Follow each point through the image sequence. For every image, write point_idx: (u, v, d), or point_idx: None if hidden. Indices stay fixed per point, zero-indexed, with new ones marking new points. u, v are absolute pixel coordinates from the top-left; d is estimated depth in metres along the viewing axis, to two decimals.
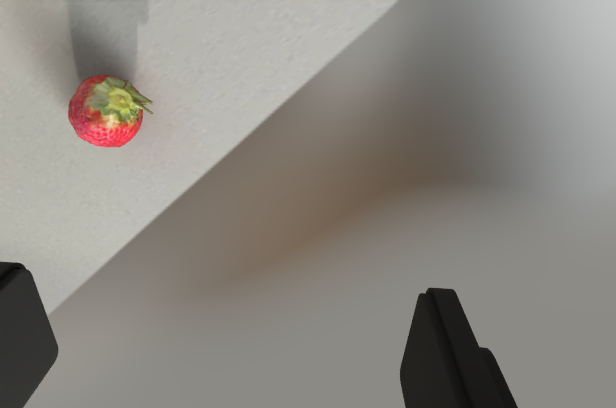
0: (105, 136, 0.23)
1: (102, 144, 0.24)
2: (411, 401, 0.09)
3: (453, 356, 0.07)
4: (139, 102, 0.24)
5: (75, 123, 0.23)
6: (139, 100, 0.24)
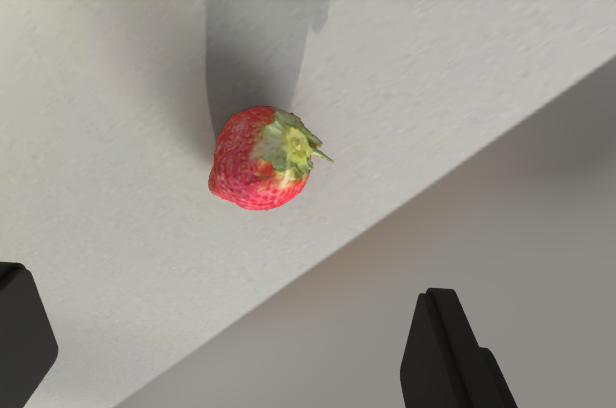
0: (274, 199, 0.16)
1: (260, 208, 0.16)
2: (411, 401, 0.09)
3: (453, 356, 0.07)
4: (314, 146, 0.16)
5: (230, 183, 0.15)
6: (314, 143, 0.16)
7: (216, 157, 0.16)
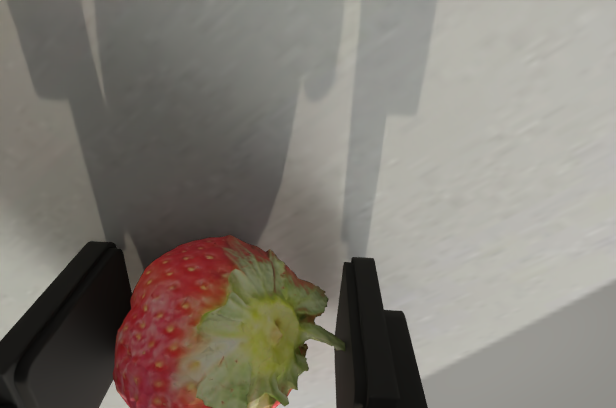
0: None
1: None
2: (337, 361, 0.10)
3: (357, 312, 0.08)
4: (311, 320, 0.09)
5: None
6: (310, 313, 0.09)
7: (115, 354, 0.08)
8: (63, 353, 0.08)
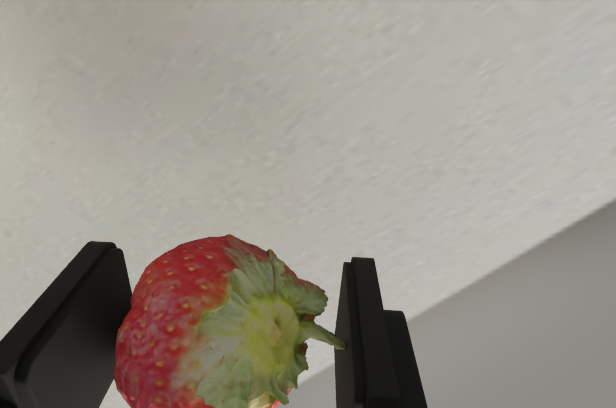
0: None
1: None
2: (336, 361, 0.10)
3: (357, 312, 0.08)
4: (311, 319, 0.09)
5: None
6: (310, 312, 0.09)
7: (116, 353, 0.08)
8: (63, 353, 0.08)
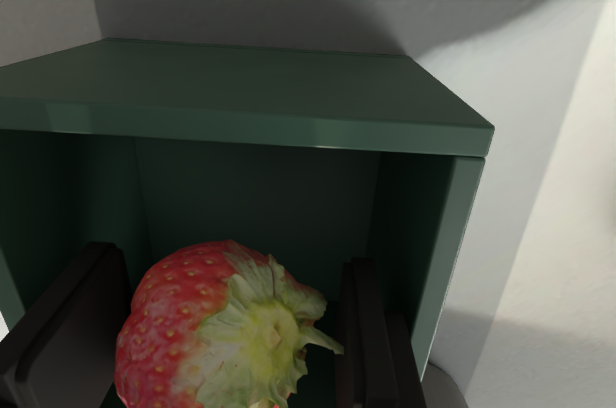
0: None
1: None
2: (336, 361, 0.10)
3: (357, 312, 0.08)
4: (310, 323, 0.09)
5: None
6: (309, 317, 0.09)
7: (116, 358, 0.08)
8: (64, 353, 0.08)
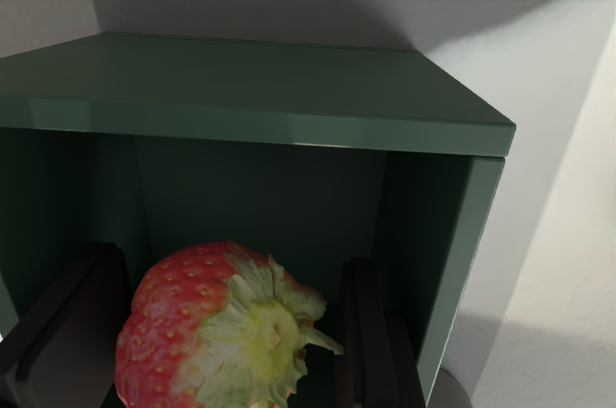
0: None
1: None
2: (336, 361, 0.10)
3: (356, 312, 0.08)
4: (310, 324, 0.09)
5: None
6: (309, 317, 0.09)
7: (116, 358, 0.08)
8: (64, 353, 0.08)
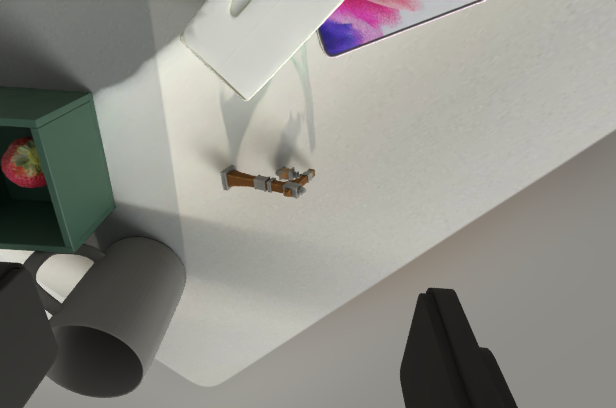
0: (27, 182, 0.33)
1: (27, 186, 0.34)
2: (411, 401, 0.09)
3: (453, 356, 0.07)
4: None
5: (5, 173, 0.32)
6: None
7: (1, 160, 0.33)
8: None
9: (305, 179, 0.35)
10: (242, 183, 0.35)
